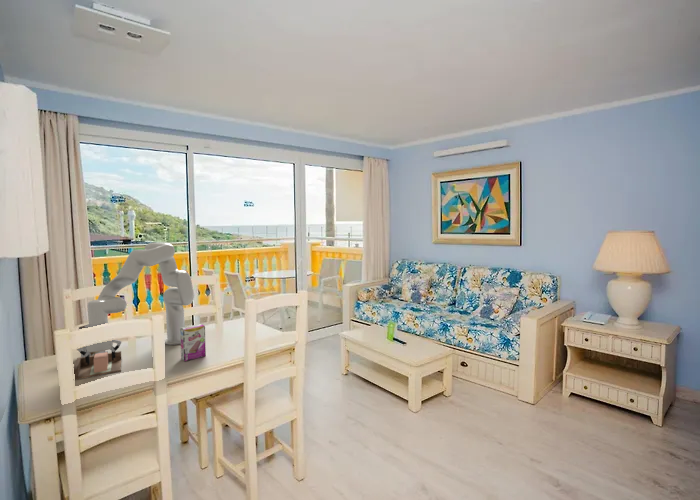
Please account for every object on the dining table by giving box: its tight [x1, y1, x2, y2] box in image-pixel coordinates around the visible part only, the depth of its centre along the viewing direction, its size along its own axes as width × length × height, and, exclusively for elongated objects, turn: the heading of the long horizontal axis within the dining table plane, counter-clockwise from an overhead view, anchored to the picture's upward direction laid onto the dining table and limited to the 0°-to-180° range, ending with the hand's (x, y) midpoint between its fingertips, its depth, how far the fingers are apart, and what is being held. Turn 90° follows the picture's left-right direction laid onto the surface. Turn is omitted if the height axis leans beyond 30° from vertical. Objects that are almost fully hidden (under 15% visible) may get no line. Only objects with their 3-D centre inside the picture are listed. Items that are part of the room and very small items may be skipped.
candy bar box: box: [180, 323, 207, 362], centre depth 191 cm, size 11×5×16 cm, turn 134°
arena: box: [73, 350, 123, 381], centre depth 177 cm, size 18×16×5 cm
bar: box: [94, 350, 109, 373], centre depth 177 cm, size 10×5×6 cm, turn 30°
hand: (101, 361), depth 177 cm, fingers open, 9 cm apart
